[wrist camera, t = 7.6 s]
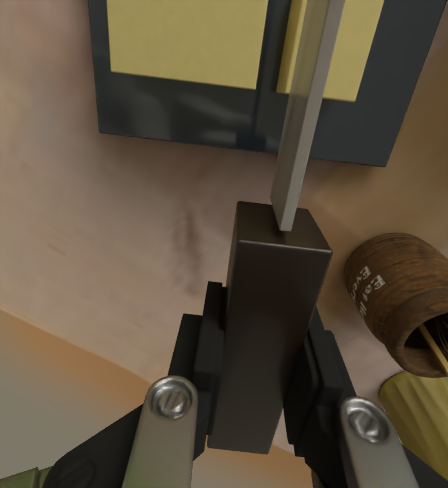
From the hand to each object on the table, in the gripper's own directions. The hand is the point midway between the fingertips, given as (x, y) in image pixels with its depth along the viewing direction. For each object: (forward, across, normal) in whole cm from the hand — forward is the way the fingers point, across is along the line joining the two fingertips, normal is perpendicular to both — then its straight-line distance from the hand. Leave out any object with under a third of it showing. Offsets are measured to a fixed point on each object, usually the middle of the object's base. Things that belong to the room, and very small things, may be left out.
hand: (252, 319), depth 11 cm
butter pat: (+8, -2, -10) cm, 13 cm away
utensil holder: (+9, -10, +2) cm, 14 cm away
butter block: (+8, +4, -10) cm, 13 cm away
